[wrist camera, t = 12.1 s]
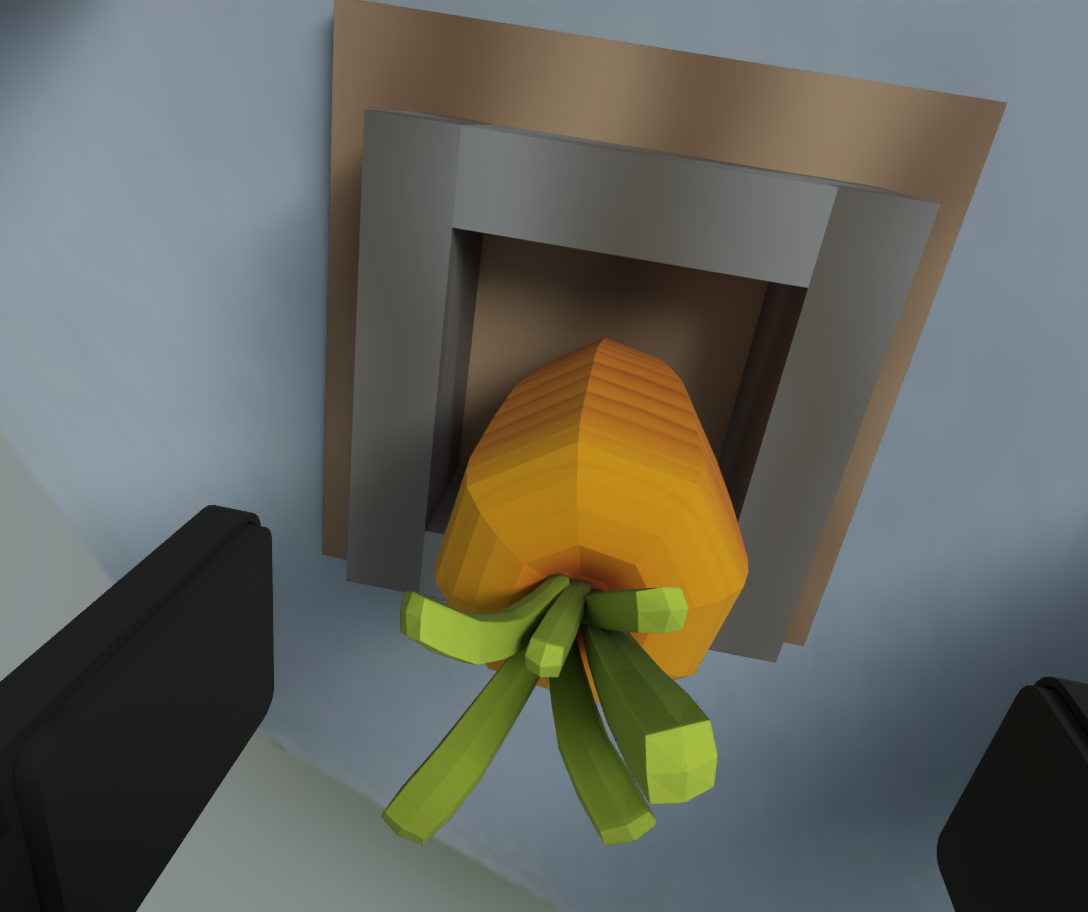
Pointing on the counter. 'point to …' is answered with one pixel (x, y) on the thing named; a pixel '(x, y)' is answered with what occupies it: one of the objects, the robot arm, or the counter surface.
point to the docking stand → (625, 271)
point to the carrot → (583, 589)
